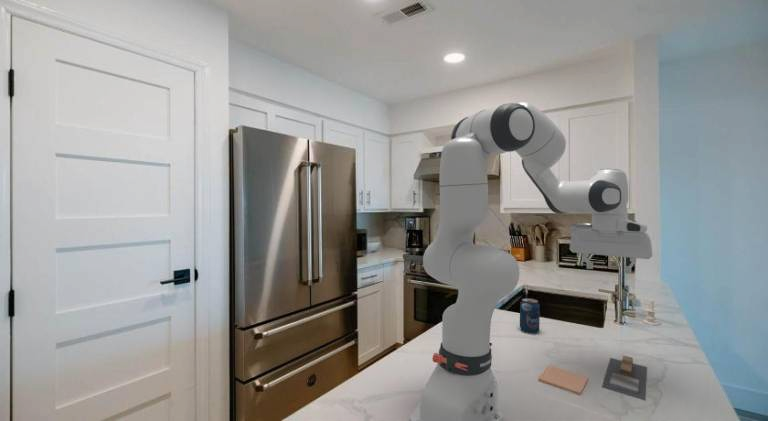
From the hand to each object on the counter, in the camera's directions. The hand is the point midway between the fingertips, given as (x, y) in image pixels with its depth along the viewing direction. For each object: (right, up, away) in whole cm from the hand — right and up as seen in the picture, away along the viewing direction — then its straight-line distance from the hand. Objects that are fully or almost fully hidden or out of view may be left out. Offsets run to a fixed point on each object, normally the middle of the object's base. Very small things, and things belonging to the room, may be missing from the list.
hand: (608, 270), depth 98 cm
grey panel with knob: (+1, -29, -6) cm, 29 cm away
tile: (-14, -29, -4) cm, 32 cm away
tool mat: (+1, -29, -6) cm, 30 cm away
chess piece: (+44, -29, +39) cm, 66 cm away
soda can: (-11, -29, +29) cm, 42 cm away
